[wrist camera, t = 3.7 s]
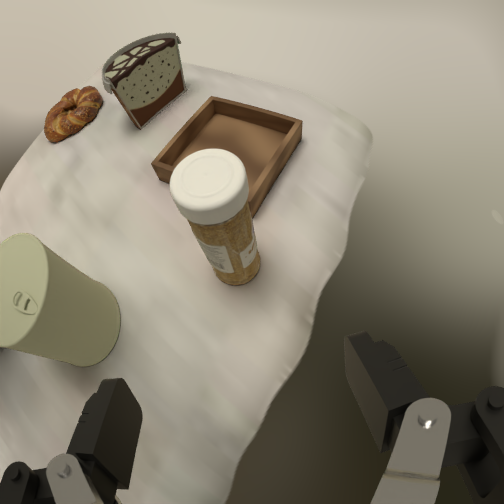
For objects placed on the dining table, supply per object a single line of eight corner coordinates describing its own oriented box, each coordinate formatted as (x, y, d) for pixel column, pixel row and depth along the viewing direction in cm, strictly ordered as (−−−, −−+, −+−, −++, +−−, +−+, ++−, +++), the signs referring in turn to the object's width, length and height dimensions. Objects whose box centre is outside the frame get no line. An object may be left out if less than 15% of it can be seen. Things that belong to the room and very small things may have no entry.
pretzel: (68, 151, 40) (56, 135, 36) (38, 139, 42) (28, 125, 39) (117, 98, 43) (109, 82, 40) (82, 93, 46) (74, 78, 43)
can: (100, 383, 26) (13, 370, 15) (41, 341, 28) (-39, 313, 17) (135, 299, 29) (64, 248, 18) (73, 269, 31) (3, 217, 20)
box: (252, 218, 31) (249, 201, 29) (159, 179, 35) (150, 163, 32) (301, 138, 35) (302, 120, 33) (215, 112, 38) (211, 96, 36)
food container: (166, 77, 44) (149, 28, 34) (193, 85, 42) (178, 31, 33) (109, 125, 40) (82, 75, 31) (133, 136, 38) (105, 81, 29)
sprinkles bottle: (269, 270, 29) (261, 182, 17) (226, 295, 28) (186, 223, 16) (245, 233, 31) (222, 134, 19) (204, 256, 30) (156, 168, 18)
